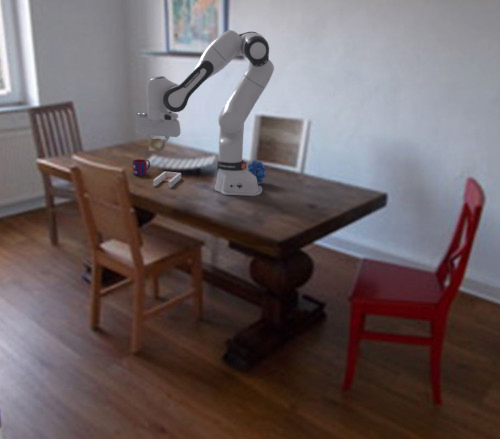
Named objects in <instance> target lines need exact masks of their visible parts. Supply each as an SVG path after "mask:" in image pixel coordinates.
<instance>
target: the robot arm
mask: <svg viewBox="0 0 500 439" xmlns="http://www.w3.org/2000/svg"><path fill="white" fill-rule="evenodd" d="M240 55H243V56H244V57H245V59H247V60H248V61H249V64H248V67H247V69H246V70H245V72H244V74H243V75H242V77H241V78H240V80H239V82H238V83H237V84H236V87H235V88H234V90H233V91H232V93H231V95H230V97H229V99H228V101H226V103H225V105H224V107H222V110H221V112H220V113H219V115H218V120H217V121H218V126H219V136H218V137H219V138H218V158H217V161H216V162H217V163H216V170H217V176H216V181H215V185H214V190H215V191H216V192H219V193H221V194H222V195H224V196H225V195H227V196H229V195H230V196H250V197H256V196H258V195H260V194H261V193H262V192H263V188H262V186H261V185H259V184H258V183H259V182H258V183H257V178H256V176H255V175H253V174H252V173H251V172H250V171H249V170H250V169H248V168H247V161H245V160H243V149H244V146H243V145H244V133H245V122H246V121H247V119H248V117H249V115H250V113H251V112H252V110H253V108H254V107H255V104H256V103H257V101H258V100H259V99H260V97H261V96H262V94H263V92H264V91H265V89H266V88H267V86H268V84H269V82H270V80H271V79H272V78H271V77H273V76H272V75H273V73H274V70H275V65H274V64H273V62H272V61H271V60H270V58H269V56H270V45H269V42H268V41H267V40H266V38H265V37H264V36H263V35H262V34H260V33H258V32H257V31H246V32H243V33H239V34H238V33H237V32H236V31H234V30H232V29H229V30H226V31H224V32H223V33H222V34H220V35H219V36H217V37H216V38H215V39H214V40H213V41H212V42H211V43H209V45H208V46H207V47H206V48H205V49H204V51H203V52H202V54H201V56H200V57H199V59H198V61H197V63H196V66H195V67H194V69H193V70H192V71H191V73H189V74H188V75H187V76H186V78H184V80H182V82H181V83H180V84H178V83H175V82H173V81H171V80H169V79H168V78H166V76H162V75H161V76H154V77H151V78H150V79H149V80H148V81H147V85H146V99H147V105H146V109H147V110H146V111H147V113H145V112H139V113H136V114H135V117H134V119H135V125H134V126H135V128H134V130H135V133H136V134H137V135H145V136H146V139H147V141H148V142H149V140H151V139H152V138H151V136H157V137H158V136H160V137H164V138H165V141H163V146H165V147H167V145H168V141H169V139H170V137H172V138H173V137H174V138H178V137H179V136H180V135H181V125H180V121H179V120H178V118H179V114H178V113H180V112H182V111H184V109H185V108H186V106H187V105H188V102H189V99H190V97H191V96H192V95H193V94H194V93H195V91H196V90H197V89H199V88H200V87H201V85H202V84H203V83H204V82H205V81H207V80H208V79H210V78H211V77H213V76H215V75H216V74H218V73H219V72H221V71H222V70H223V69H225V68H226V67H227V65H229V63H231V62H232V60H233V59H235V58H236V57H238V56H240Z"/></svg>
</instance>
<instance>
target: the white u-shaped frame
mask: <svg viewBox="0 0 500 439" xmlns="http://www.w3.org/2000/svg"><path fill="white" fill-rule="evenodd" d="M181 179H182V173H181V172H173V171H163V172H162V173H161V174H159V175H158V176H156V177H155V178H154V179H153V181H152V186H153V187H157V186H158V185H159V184H160V183H162V182H168V188H169V189H171V188H173V186H175V185H176V184H177V183H178V182H180V180H181Z"/></svg>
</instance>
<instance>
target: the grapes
mask: <svg viewBox="0 0 500 439" xmlns="http://www.w3.org/2000/svg"><path fill="white" fill-rule="evenodd" d="M247 169H248V170H249V171H250V172H251V173H252V174H253V175H255V176H256V178H257V183H262V182H263V181H264V180H263V179H264V178H266V176H267V175H266V166H265V165H263V162H262V161H261V160H259V161H257V160H253V161H252V163H249V164H248V165H247Z"/></svg>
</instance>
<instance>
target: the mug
mask: <svg viewBox="0 0 500 439" xmlns="http://www.w3.org/2000/svg"><path fill="white" fill-rule="evenodd" d="M147 163H148V164H147ZM150 167H151V162H150V160H148V159H141V158H139V159H134V160H132V174H133V175H134V176H139V177H143V176H146V175H147V171H148V170H149V169H150Z"/></svg>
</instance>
